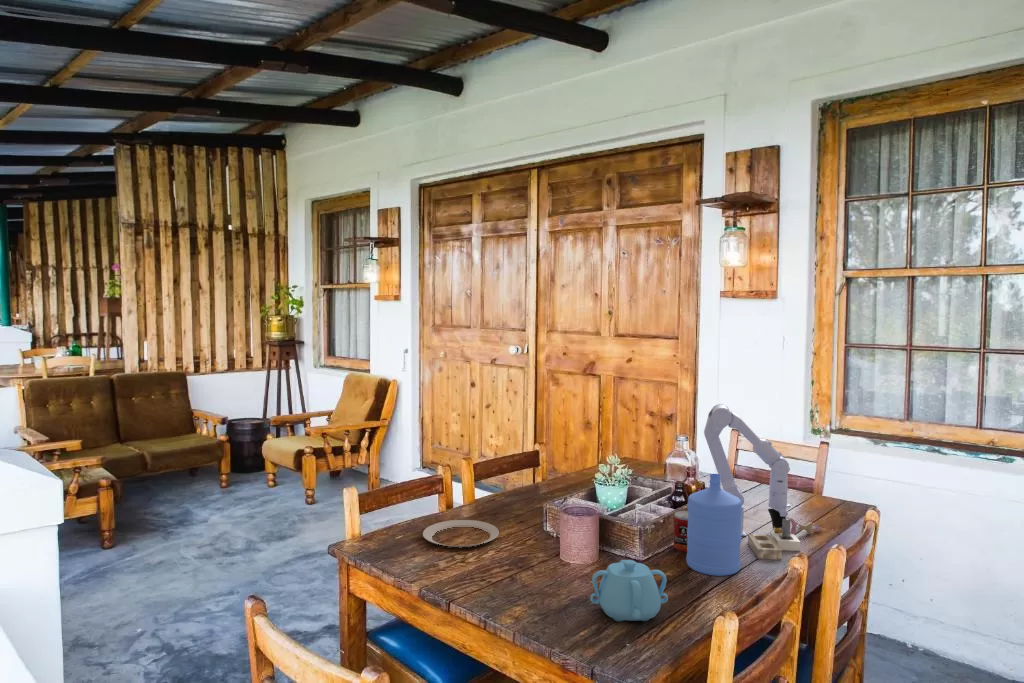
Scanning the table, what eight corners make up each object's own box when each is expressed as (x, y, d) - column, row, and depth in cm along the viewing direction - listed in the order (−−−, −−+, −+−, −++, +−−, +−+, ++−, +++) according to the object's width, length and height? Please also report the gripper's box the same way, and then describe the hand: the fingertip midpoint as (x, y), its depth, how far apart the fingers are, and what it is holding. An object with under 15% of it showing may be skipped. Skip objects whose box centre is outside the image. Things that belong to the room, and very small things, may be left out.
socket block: (777, 549, 223) (777, 540, 222) (764, 533, 239) (765, 524, 238) (799, 550, 222) (800, 541, 222) (785, 533, 238) (786, 525, 238)
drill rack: (758, 558, 215) (758, 549, 215) (747, 542, 229) (748, 533, 229) (781, 559, 214) (781, 550, 214) (769, 543, 228) (769, 534, 228)
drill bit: (782, 547, 225) (783, 520, 224) (780, 545, 227) (781, 518, 226) (790, 548, 224) (791, 520, 224) (788, 545, 227) (789, 518, 226)
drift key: (778, 541, 229) (779, 533, 228) (773, 534, 235) (773, 526, 235) (787, 541, 228) (787, 533, 228) (782, 535, 235) (782, 527, 235)
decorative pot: (625, 594, 190) (626, 545, 189) (674, 614, 177) (675, 562, 176) (584, 611, 179) (584, 560, 178) (632, 634, 167) (633, 579, 166)
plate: (464, 557, 216) (464, 551, 215) (406, 540, 231) (406, 534, 231) (514, 535, 236) (514, 529, 236) (457, 520, 251) (457, 515, 251)
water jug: (743, 579, 200) (746, 483, 198) (687, 574, 203) (689, 480, 201) (737, 559, 215) (739, 470, 213) (685, 555, 218) (686, 467, 216)
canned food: (670, 549, 223) (671, 516, 222) (677, 541, 230) (677, 509, 229) (694, 553, 219) (695, 519, 218) (700, 545, 226) (701, 512, 225)
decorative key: (821, 538, 241) (783, 538, 231) (818, 537, 242) (780, 537, 232) (824, 519, 241) (786, 518, 231) (821, 518, 242) (783, 517, 232)
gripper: (797, 498, 227) (795, 538, 228) (784, 486, 242) (783, 524, 243) (774, 497, 228) (773, 537, 229) (763, 485, 243) (762, 523, 243)
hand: (777, 530), depth 236 cm, fingers closed
